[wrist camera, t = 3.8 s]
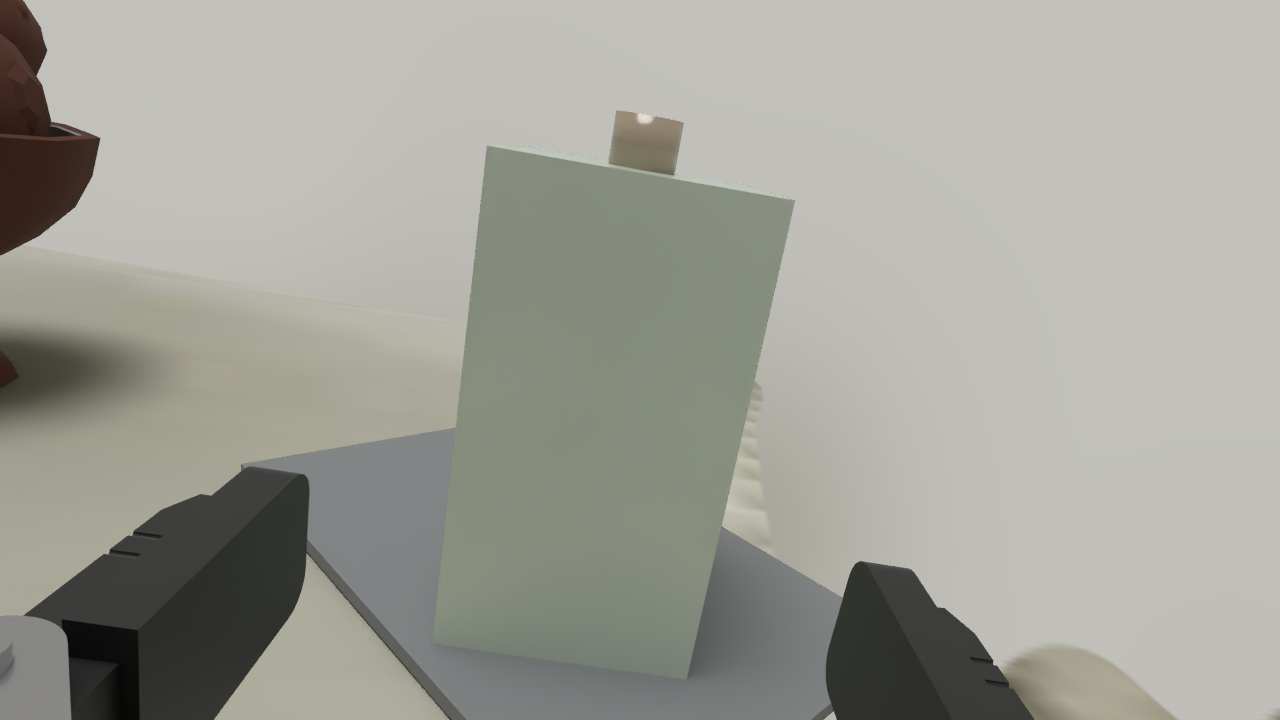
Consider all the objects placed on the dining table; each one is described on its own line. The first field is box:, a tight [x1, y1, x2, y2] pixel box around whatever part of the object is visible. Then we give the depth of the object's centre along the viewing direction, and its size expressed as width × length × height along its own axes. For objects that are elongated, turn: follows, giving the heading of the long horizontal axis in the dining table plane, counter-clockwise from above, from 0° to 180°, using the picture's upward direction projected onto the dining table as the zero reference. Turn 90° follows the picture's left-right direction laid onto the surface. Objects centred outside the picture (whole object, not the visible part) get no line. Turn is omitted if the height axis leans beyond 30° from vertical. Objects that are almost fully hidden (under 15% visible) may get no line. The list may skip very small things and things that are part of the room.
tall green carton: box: [432, 111, 795, 680], centre depth 19 cm, size 6×6×13 cm
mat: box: [241, 428, 843, 720], centre depth 23 cm, size 18×12×1 cm, turn 46°
